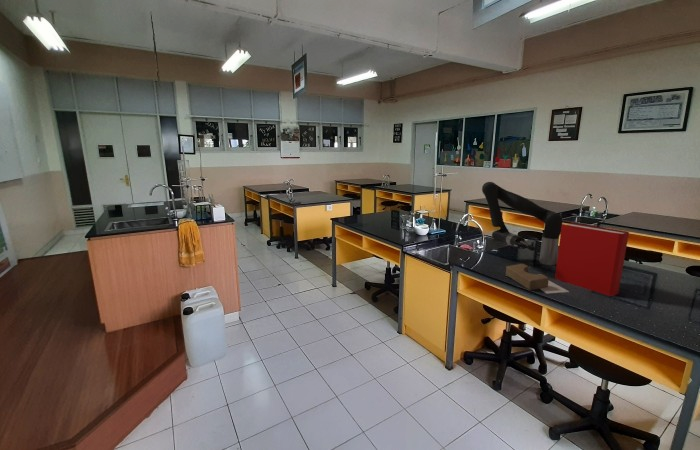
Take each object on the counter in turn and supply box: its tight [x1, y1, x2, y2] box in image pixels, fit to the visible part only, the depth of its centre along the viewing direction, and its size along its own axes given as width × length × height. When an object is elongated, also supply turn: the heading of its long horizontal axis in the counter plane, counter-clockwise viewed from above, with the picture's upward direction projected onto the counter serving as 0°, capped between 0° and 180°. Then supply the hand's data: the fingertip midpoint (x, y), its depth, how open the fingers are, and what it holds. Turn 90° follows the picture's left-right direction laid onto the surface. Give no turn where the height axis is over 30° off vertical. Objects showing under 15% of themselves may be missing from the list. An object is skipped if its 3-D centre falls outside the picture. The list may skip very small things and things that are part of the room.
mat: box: [537, 273, 570, 295], centre depth 174 cm, size 12×22×2 cm, turn 6°
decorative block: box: [505, 263, 550, 291], centre depth 177 cm, size 11×6×20 cm
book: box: [554, 222, 630, 297], centre depth 169 cm, size 27×8×32 cm, turn 30°
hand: (533, 249), depth 181 cm, fingers closed
